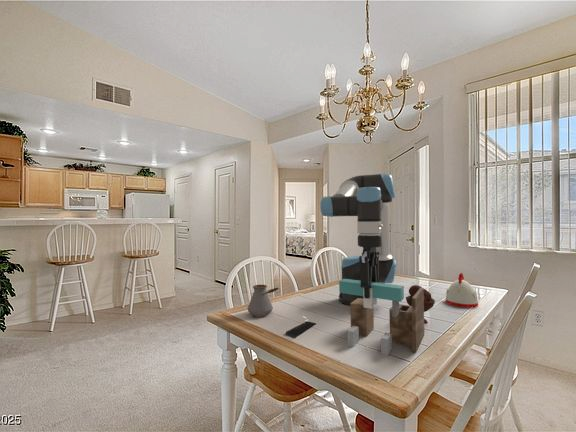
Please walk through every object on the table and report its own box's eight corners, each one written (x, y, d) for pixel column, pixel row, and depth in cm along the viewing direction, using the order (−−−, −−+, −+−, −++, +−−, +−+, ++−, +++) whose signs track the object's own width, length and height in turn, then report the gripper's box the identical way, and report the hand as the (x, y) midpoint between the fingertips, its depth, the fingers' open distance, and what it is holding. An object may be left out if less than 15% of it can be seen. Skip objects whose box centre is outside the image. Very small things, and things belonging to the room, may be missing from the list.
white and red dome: (442, 303, 144) (442, 273, 144) (449, 298, 154) (449, 269, 154) (475, 309, 134) (475, 277, 134) (480, 302, 145) (479, 273, 145)
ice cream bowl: (423, 328, 112) (422, 289, 112) (400, 319, 122) (399, 284, 122) (441, 323, 117) (440, 286, 117) (417, 315, 127) (416, 281, 127)
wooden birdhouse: (386, 349, 95) (386, 294, 95) (398, 332, 108) (397, 284, 108) (416, 356, 90) (415, 298, 90) (424, 338, 103) (423, 287, 103)
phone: (323, 325, 115) (301, 337, 103) (323, 328, 115) (301, 340, 103) (306, 321, 120) (284, 332, 108) (306, 323, 120) (284, 335, 108)
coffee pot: (243, 313, 132) (242, 280, 133) (264, 308, 139) (264, 277, 139) (266, 327, 115) (266, 290, 115) (290, 321, 121) (290, 286, 122)
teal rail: (339, 307, 98) (338, 281, 98) (344, 303, 102) (344, 278, 102) (400, 318, 87) (400, 288, 87) (404, 314, 91) (403, 285, 91)
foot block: (350, 335, 106) (350, 303, 106) (358, 328, 113) (358, 297, 113) (366, 339, 103) (366, 305, 103) (373, 331, 109) (373, 300, 110)
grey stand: (347, 348, 96) (347, 330, 96) (353, 343, 100) (352, 325, 100) (387, 358, 89) (387, 339, 89) (391, 352, 93) (391, 333, 93)
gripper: (372, 236, 85) (373, 315, 85) (388, 233, 99) (389, 300, 99) (348, 236, 89) (349, 311, 89) (366, 232, 103) (367, 297, 104)
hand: (370, 305), depth 94 cm, fingers closed on teal rail, 4 cm apart
